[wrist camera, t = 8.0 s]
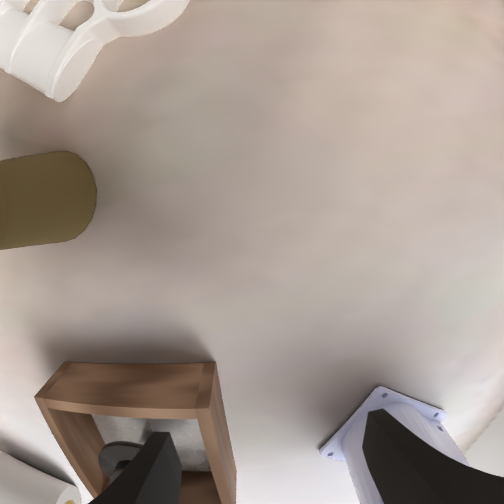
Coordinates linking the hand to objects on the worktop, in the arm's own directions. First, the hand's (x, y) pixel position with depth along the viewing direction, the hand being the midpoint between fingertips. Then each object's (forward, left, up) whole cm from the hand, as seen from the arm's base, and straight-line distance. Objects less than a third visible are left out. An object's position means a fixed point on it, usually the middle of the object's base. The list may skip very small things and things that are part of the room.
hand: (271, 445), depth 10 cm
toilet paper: (+11, +32, -11) cm, 35 cm away
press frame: (+3, +12, -10) cm, 16 cm away
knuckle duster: (+23, -14, -11) cm, 30 cm away
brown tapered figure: (+16, -1, -11) cm, 19 cm away
